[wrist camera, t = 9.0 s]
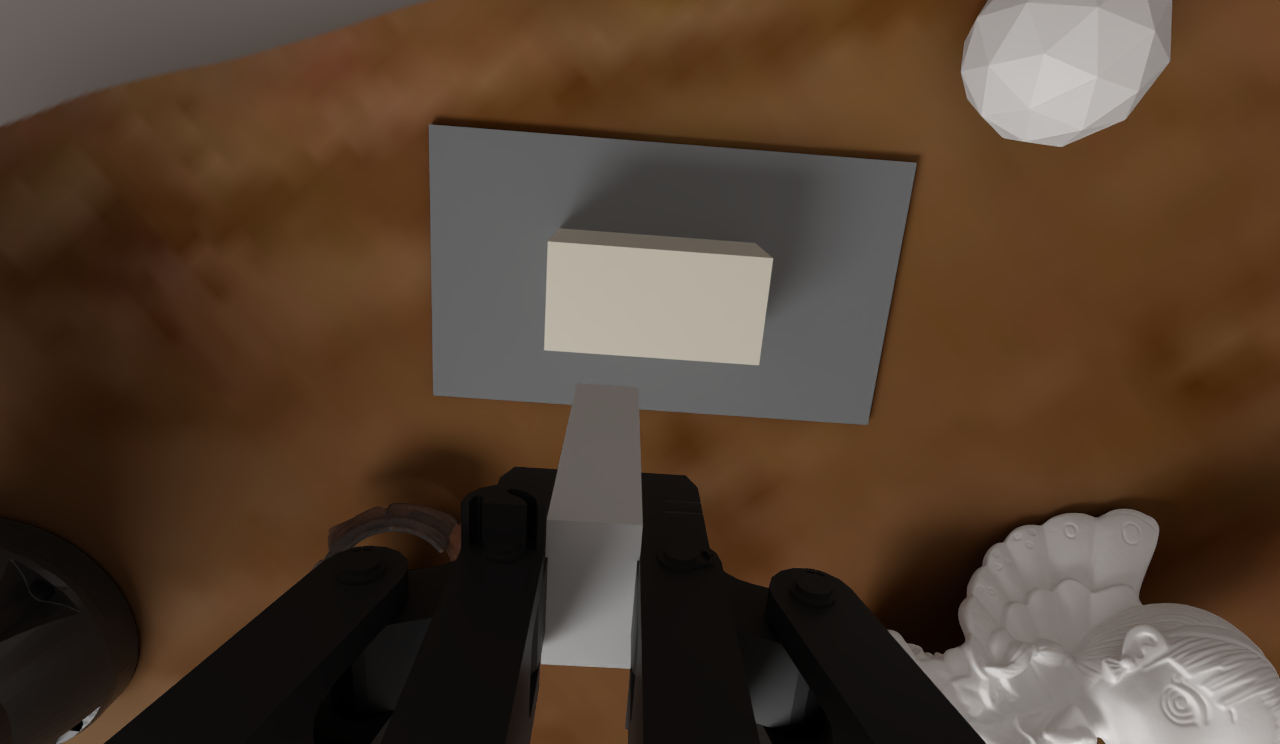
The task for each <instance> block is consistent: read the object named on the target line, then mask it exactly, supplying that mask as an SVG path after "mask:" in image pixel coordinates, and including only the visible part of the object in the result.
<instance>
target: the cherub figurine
mask: <svg viewBox="0 0 1280 744" xmlns="http://www.w3.org/2000/svg"><path fill="white" fill-rule="evenodd" d="M1158 536H1159V526H1158V524H1157V522H1156V520H1155V519H1154V518H1152V517H1150V516H1148V515H1146V514H1144V513H1142V512H1140V511H1137V510H1133V509H1116V510H1112V511H1109V512H1107V513H1105V514H1103V515H1102V516H1100V517H1093V516H1090V515H1087V514H1082V513H1065V514H1060V515H1057V516H1055V517H1052V518H1050V519H1049V520H1047V521H1046V522H1045V523H1044V524H1043V525H1041V526H1039V525H1024V526H1020V527H1018V528H1016V529H1014V530H1013V531H1012V532H1011V533H1010V534H1009V535H1008V536H1007V537H1006V539H1005V540H1004V542H1003V543H997V544H994V545H993V546H992V547H990V549H989V550H988V551H987V553H986V554H985V556H984V558H983V563H982V567H980V568H978V569H977V570H976V571H975V572H974V574H973V575H972V577H971V579H970V581H969V583H968V586H967V597H966V598H965V599H964V600H963V601H962V603H961V604H960V607H959V610H958V619H959V623H960V626H961V628H962V631H963V633H964V636H965V642H964V644H963V645H961V646H959V647H956V648H952V649H949V650H947V651H945V653H944V654H941V653H938V652H935V654H934V655H932V654H931V653H929V652H925V653H924V651H923V649H922V648H921V647H920V646H918V645H915V644H907V643H906V642H905V640H904V639H903V638H902V636H901V635H900V634H899V633H898V632H896V631H893V630H888V632H889V633H890V634H891V635H892V636H893V637H894V638H895V640H896V641H897V642H898V643H899V644H900V645H901V646H902V648H903V649H904V650H905V651H906V652H907V653H908V654H909V656H910V657H911V658H912V659H913V660H914V661H915V662H916V664H917V665H918V666H919V667H920V668H921V669H922V670H923V672H924V673H925V674H926V675H927V676H928V677H929V678H930V680H931V681H932V682H933V683H934V684H935V685H936V686H937V688H938V689H939V690H940V691H941V692H942V693H943V694H944V696H945V697H946V698H947V699H948V700H949V701H950V702H951V704H952V705H953V706H954V707H955V708H956V709H957V710H958V712H959V713H960V714H961V715H962V716H963V717H964V718H965V720H966V721H967V722H968V723H969V724H970V725H971V726H972V728H973V729H974V730H975V731H976V732H977V733H978V734H979V736H980V737H981V738H982V739H983V740H984V741H985V742H986V744H1097V738H1096V737H1100V738H1102V739H1103V740H1104V742H1105V743H1106V744H1280V678H1279V676H1278V674H1277V672H1276V670H1275V668H1274V667H1273V665H1272V664H1271V663H1270V662H1269V660H1268V659H1267V658H1266V657H1265V656H1264V654H1263V652H1262V651H1261V650H1260V649H1259V648H1258V646H1256V645H1255V644H1254V643H1253V642H1252V641H1251V640H1250V639H1249V638H1248V637H1247V636H1246V635H1245V634H1243V633H1242V632H1241V631H1240V630H1238V629H1237V628H1236V627H1234V626H1233V625H1232V624H1230V623H1229V622H1227V621H1226V620H1224V619H1222V618H1221V617H1219V616H1217V615H1215V614H1212V613H1210V612H1208V611H1205V610H1203V609H1199V608H1196V607H1192V606H1188V605H1184V604H1175V603H1159V604H1148V605H1142V603H1141V602H1140V600H1139V592H1140V588H1141V584H1142V581H1143V578H1144V576H1145V573H1146V570H1147V568H1148V566H1149V563H1150V561H1151V558H1152V556H1153V553H1154V551H1155V548H1156V544H1157V541H1158Z"/></svg>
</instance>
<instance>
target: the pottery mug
mask: <svg viewBox="0 0 1280 744" xmlns="http://www.w3.org/2000/svg"><path fill="white" fill-rule="evenodd" d="M390 531H393V532H405V533H410V534H413V535H416V536H418V537H420V538H422V539H424V540H426V541H427V542H429V543H430V544H431V545H432V546H433V547H434V548H435V549H436V550H437V551H438V552H440V553H442V552H443V551H444V550H446V552H447V554H448V555H449V557H450V560H451V562H452V561H455V560H456V559H457V557H458V554H459V552H460V549H461V522H460V523H458V522H457V519H456V518H455V517H454V516H452V515H450V514H447V513H445V512H442V511H440V510H436V509H433V508H430V507H426V506H421V505H416V504H405V503H392V504H390V505H389V507H388V509H383V508H381V507H374V508H372V509H369V510H367V511H365V512H363V513H361V514H359V515H357V516H355V517H354V518H352V519H350V520H348V521H346V522H343V523H341V524H338V525H336V526H334V527H332V528H331V529H329V536H328V548H329V553H328V554H327V556H326V557H325V559H324V560H326V559H328V558H329V557H331V556H333V555H334V554H336V553H339V552H342V551H345V550H348V549H351V548H352V547H354V546H355V545H356V544H357V543H359V542H360V541H362V540H364V539H365V538H367V537H369V536H372V535H375V534H378V533H383V532H390ZM324 560H320V561H319V562H318V563H316V564H315V565H314V567H313V569H314V568H315V567H317V566H318V565H319V564H320V563H321V562H323V561H324ZM313 569H312V570H313Z"/></svg>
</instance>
